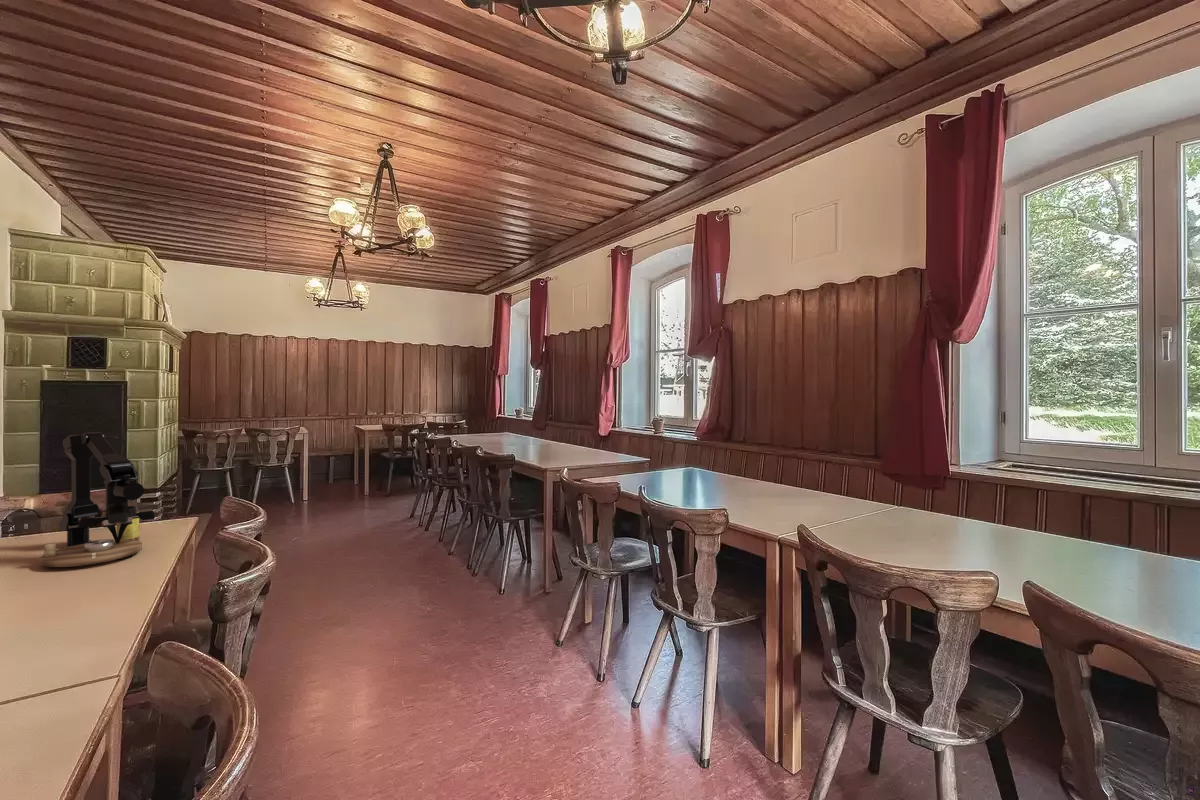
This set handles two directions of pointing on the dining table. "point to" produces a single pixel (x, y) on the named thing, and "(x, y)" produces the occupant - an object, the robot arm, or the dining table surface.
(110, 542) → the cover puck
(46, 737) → the dining table surface
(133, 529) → the sauce bottle
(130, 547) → the turntable
